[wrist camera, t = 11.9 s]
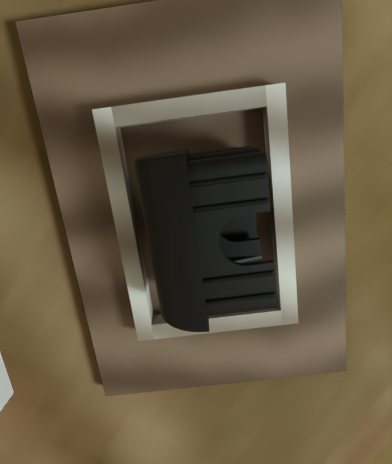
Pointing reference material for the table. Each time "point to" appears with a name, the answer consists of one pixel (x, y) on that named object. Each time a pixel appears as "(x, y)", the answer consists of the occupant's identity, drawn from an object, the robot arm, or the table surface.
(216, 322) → the lens rest
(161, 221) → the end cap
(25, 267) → the table surface
